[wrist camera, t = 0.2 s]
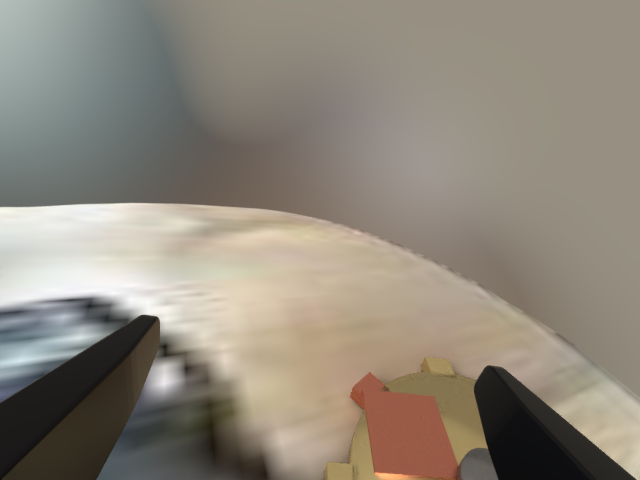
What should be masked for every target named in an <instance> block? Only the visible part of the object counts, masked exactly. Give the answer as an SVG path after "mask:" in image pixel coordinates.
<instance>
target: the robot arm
mask: <svg viewBox="0 0 640 480" xmlns="http://www.w3.org/2000/svg"><path fill="white" fill-rule="evenodd" d="M159 345H160V320H159V318H158V317H156V316H150V315H141V316H139V317H137V318H135V319H134V320H132V321H131V322H129V323H127V324H126V325H124V326H123V327H121V328H119V329H118V330H116V331H114V332H113V333H111V334H110V335H108V336H106V337H105V338H103V339H102V340H100V341H98V342H97V343H95V344H94V345H92V346H90V347H89V348H87V349H86V350H84V351H82V352H81V353H79V354H78V355H76V356H74V357H73V358H71V359H69V360H68V361H66V362H65V363H63V364H61V365H60V366H58V367H57V368H55V369H53V370H52V371H50V372H49V373H47V374H45V375H44V376H42V377H41V378H39V379H37V380H36V381H34V382H32V383H31V384H29V385H28V386H26V387H24V388H23V389H21V390H20V391H18V392H16V393H15V394H13V395H12V396H10V397H8V398H7V399H5V400H4V401H2V402H0V480H96V479H97V477H98V475H99V473H100V472H101V470H102V468H103V466H104V464H105V462H106V460H107V459H108V457H109V455H110V453H111V451H112V449H113V447H114V445H115V444H116V442H117V440H118V438H119V436H120V434H121V432H122V430H123V429H124V427H125V425H126V423H127V421H128V419H129V417H130V415H131V413H132V411H133V409H134V407H135V405H136V403H137V400H138V398H139V396H140V393H141V391H142V388H143V386H144V383H145V381H146V378H147V376H148V373H149V371H150V368H151V366H152V363H153V361H154V358H155V356H156V354H157V351H158V348H159ZM474 395H475V399H476V403H477V407H478V411H479V415H480V420H481V424H482V428H483V432H484V436H485V440H486V444H487V447H488V451H489V454H490V457H491V460H492V463H493V466H494V469H495V472H496V475H497V478H498V480H636V479H635V478H634V477H633V476H631V475H630V474H629V473H628V472H627V471H625V470H624V469H623V468H622V467H621V466H619V465H618V464H617V463H616V462H615V461H614V460H612V459H611V458H610V457H609V456H608V455H606V454H605V453H604V452H603V451H602V450H600V449H599V448H598V447H597V446H596V445H594V444H593V443H592V442H591V441H590V440H589V439H587V438H586V437H585V436H584V435H583V434H581V433H580V432H579V431H578V430H577V429H575V428H574V427H573V426H572V425H571V424H569V423H568V422H567V421H566V420H565V419H564V418H562V417H561V416H560V415H559V414H558V413H556V412H555V411H554V410H553V409H552V408H550V407H549V406H548V405H547V404H546V403H544V402H543V401H542V400H541V399H540V398H539V397H537V396H536V395H535V394H534V393H533V392H531V391H530V390H529V389H528V388H527V387H525V386H524V385H523V384H522V383H521V382H519V381H518V380H517V379H516V378H515V377H514V376H512V375H511V374H510V373H509V372H508V371H506V370H505V369H504V368H502V367H498V366H491V365H489V366H486V367H485V368H484V370H483V371H482V373H481V374H480V376H479V378H478V379H477V381H476V382H475V385H474Z"/></svg>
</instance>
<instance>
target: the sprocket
mask: <svg viewBox="0 0 640 480" xmlns="http://www.w3.org/2000/svg"><path fill="white" fill-rule="evenodd" d="M421 367H422V370H423V372H419V373H414V374H409V375H405V376H403V377H400V378H397V379H395V380H393V381H392V382H390V383H388V384H387V385H384V384H383V383H382V382H381V381H379V380H378V379H377V378H376V377H375V376H374V375H372V374H371V373H370V372H369V373H368V374H367V375H366V376H365V377H364V378H363V379H362V380H361V381H359V382H358V383H357V384H356V385H355V386H354V387H353V389H352V392H351V395H350V397H351V398H352V399H353V400H354V401H355V402H356V403H357V404H358V405H359V406H360V407H361V408H362V409H363V410H364V412H363V413H362V415H361V418H360V420H359V423H358V425H357V428H356V431H355V433H354V436H353V439H352V443H351V448H350V452H349V461H348V464H347V463H333V462H327V464H326V467H325V470H324V480H498V478H497V475H496V472H495V469H494V466H493V463H492V460H491V457H490V454H489V451H488V447H487V444H486V440H485V436H484V432H483V428H482V424H481V420H480V415H479V411H478V407H477V403H476V399H475V395H474V385H475V382H476V380H473V379H470V378H467V377H463V376H460V375H456V374H454V371H453V369H452V367H451V364H450V362H449V360H448V359H439V358H430V357H425V359H424V361H423V363H422V365H421Z"/></svg>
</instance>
